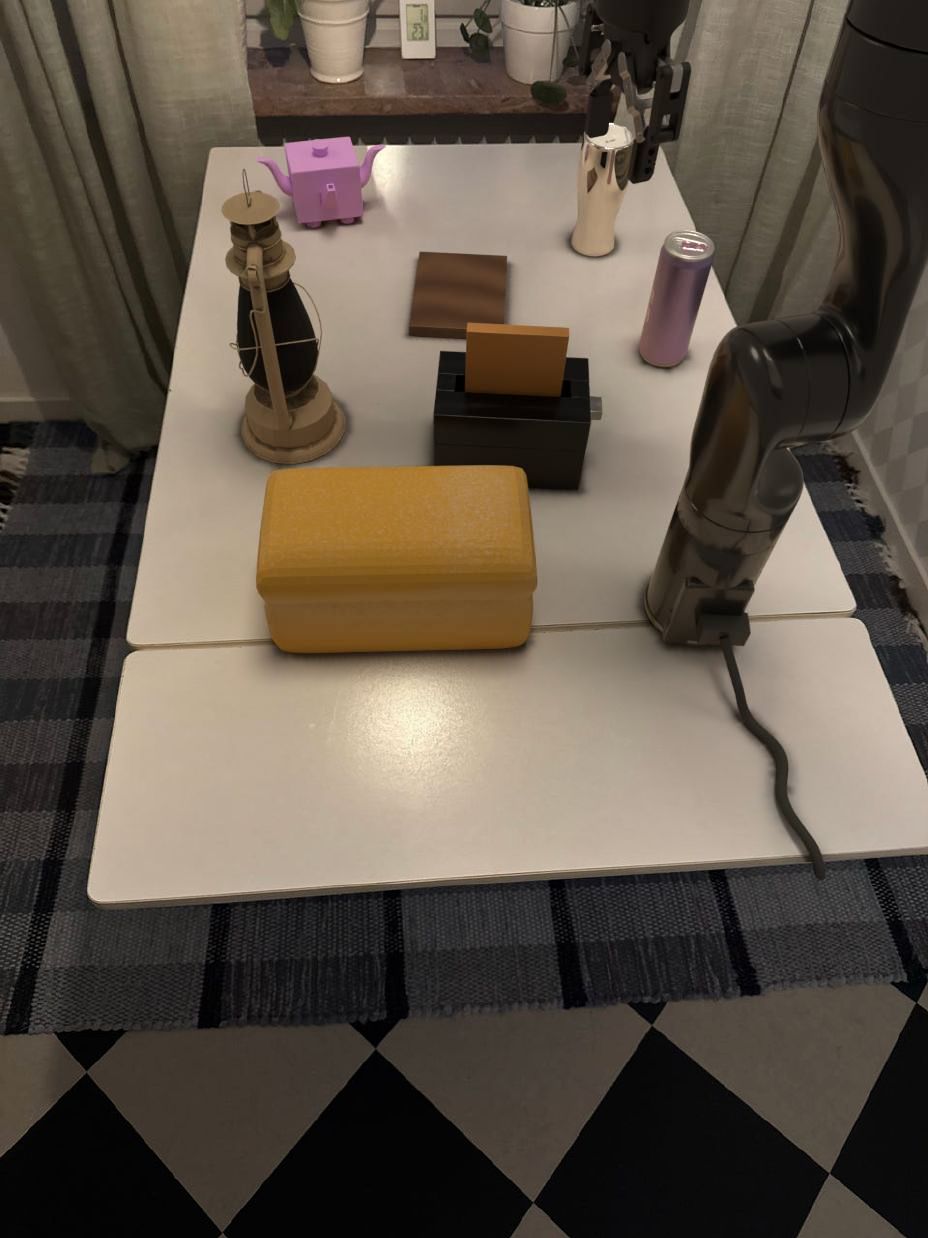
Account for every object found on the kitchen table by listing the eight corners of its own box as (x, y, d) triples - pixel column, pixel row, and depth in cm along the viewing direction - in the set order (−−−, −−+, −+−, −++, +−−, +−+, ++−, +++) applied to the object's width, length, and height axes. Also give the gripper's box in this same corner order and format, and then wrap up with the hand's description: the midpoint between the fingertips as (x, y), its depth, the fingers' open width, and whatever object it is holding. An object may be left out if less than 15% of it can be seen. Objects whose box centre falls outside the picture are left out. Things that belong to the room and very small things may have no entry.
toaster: (592, 491, 94) (606, 423, 86) (434, 482, 95) (433, 414, 86) (590, 427, 100) (603, 358, 92) (440, 419, 100) (440, 350, 92)
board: (503, 340, 109) (504, 330, 107) (409, 335, 109) (408, 325, 107) (506, 265, 117) (507, 255, 116) (419, 260, 118) (419, 250, 116)
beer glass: (559, 249, 120) (573, 140, 107) (579, 224, 123) (595, 116, 111) (605, 264, 118) (625, 154, 106) (624, 238, 121) (645, 129, 109)
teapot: (271, 248, 118) (258, 179, 110) (261, 197, 126) (248, 128, 117) (398, 233, 121) (395, 164, 113) (381, 183, 128) (377, 115, 120)
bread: (518, 546, 90) (530, 443, 77) (528, 650, 83) (543, 554, 70) (285, 551, 89) (259, 446, 76) (275, 656, 82) (244, 560, 69)
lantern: (245, 386, 103) (181, 128, 78) (344, 381, 104) (312, 125, 79) (238, 474, 95) (164, 219, 70) (345, 469, 96) (310, 214, 71)
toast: (556, 421, 92) (569, 336, 83) (464, 416, 92) (466, 331, 83) (556, 412, 93) (569, 327, 84) (465, 407, 93) (467, 322, 84)
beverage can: (683, 372, 106) (715, 263, 93) (635, 365, 106) (660, 255, 94) (686, 342, 109) (717, 232, 97) (639, 335, 110) (664, 225, 97)
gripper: (567, -80, 69) (547, 128, 82) (654, -11, 62) (617, 205, 75) (649, -91, 71) (616, 114, 84) (743, -25, 63) (691, 188, 77)
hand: (616, 157), depth 80 cm, fingers open, 8 cm apart
